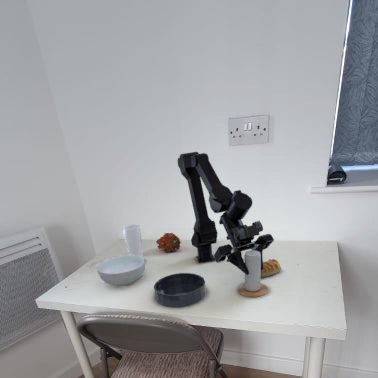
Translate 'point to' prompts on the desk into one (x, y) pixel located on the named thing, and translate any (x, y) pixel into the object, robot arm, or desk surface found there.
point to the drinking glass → (133, 239)
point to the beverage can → (253, 270)
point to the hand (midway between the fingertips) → (255, 272)
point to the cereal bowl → (121, 269)
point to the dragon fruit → (169, 242)
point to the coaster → (258, 293)
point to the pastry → (270, 267)
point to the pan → (180, 290)
